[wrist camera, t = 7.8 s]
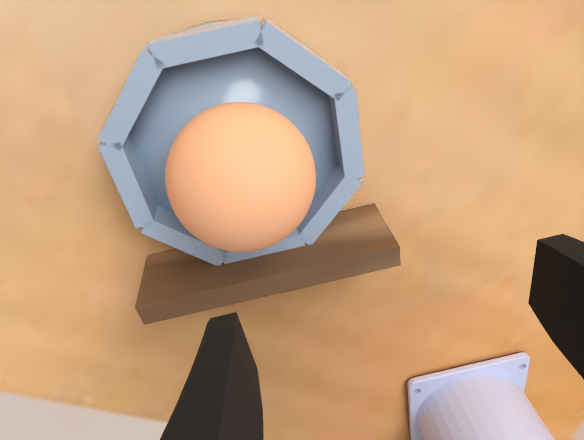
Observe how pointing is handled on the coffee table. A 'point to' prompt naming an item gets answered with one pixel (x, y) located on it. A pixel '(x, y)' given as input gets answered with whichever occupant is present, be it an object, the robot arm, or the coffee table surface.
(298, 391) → the coffee table surface
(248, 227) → the ball
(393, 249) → the wooden block
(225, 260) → the dish
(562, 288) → the robot arm
